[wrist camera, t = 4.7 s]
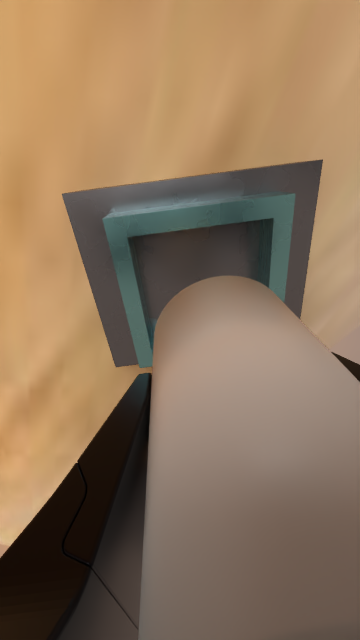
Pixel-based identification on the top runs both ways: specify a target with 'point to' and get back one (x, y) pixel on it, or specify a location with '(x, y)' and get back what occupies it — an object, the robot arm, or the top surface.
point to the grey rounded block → (249, 474)
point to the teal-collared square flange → (191, 242)
